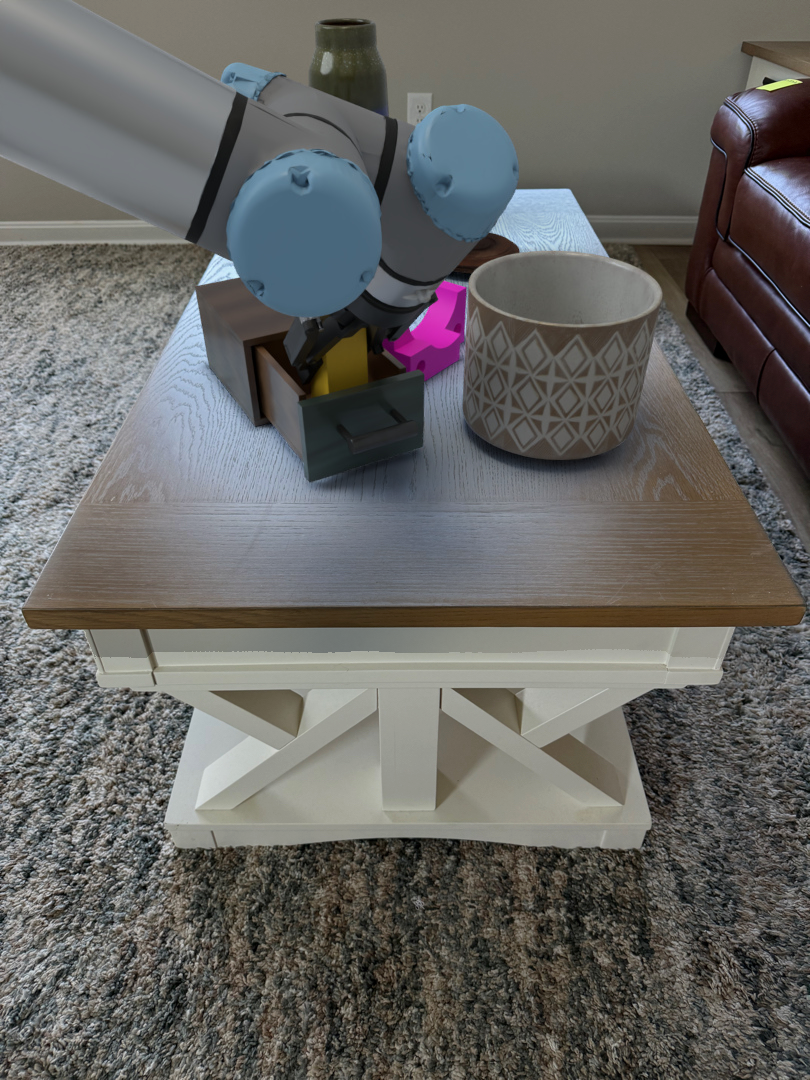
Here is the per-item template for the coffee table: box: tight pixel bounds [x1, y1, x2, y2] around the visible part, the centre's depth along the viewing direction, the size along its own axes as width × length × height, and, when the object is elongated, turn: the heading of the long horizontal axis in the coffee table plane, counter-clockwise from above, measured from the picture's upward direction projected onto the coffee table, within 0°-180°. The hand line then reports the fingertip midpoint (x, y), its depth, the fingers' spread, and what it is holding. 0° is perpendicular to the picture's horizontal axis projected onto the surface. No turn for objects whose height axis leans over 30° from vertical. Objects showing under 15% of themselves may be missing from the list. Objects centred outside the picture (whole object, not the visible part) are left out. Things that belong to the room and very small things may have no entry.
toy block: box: [382, 280, 468, 383], centre depth 99 cm, size 15×6×8 cm, turn 142°
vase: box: [308, 17, 390, 117], centre depth 129 cm, size 14×14×31 cm
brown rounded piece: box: [452, 220, 521, 274], centre depth 121 cm, size 15×15×20 cm
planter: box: [461, 250, 664, 461], centre depth 85 cm, size 19×19×16 cm
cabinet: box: [194, 276, 296, 427], centre depth 94 cm, size 17×15×11 cm
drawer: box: [252, 338, 425, 483], centre depth 83 cm, size 20×13×9 cm
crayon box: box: [310, 328, 368, 398], centre depth 81 cm, size 4×5×11 cm
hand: (323, 367), depth 85 cm, fingers closed on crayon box, 4 cm apart
